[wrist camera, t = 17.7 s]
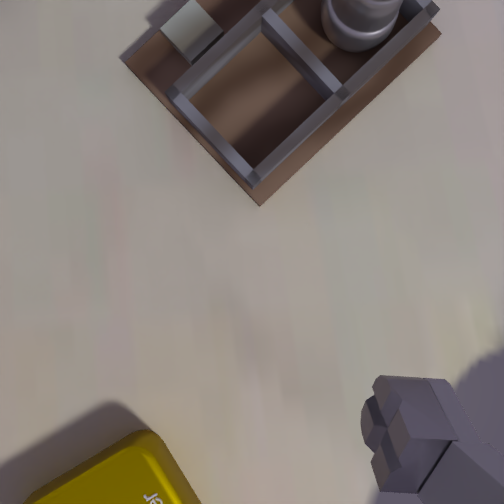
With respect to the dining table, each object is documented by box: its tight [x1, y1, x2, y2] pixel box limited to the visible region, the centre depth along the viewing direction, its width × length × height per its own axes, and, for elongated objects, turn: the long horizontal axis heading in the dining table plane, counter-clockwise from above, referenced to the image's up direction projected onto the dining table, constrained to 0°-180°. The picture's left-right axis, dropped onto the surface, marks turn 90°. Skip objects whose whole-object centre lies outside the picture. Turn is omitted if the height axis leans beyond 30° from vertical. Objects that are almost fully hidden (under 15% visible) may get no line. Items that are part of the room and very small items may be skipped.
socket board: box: [125, 0, 442, 207], centre depth 42 cm, size 18×23×4 cm
